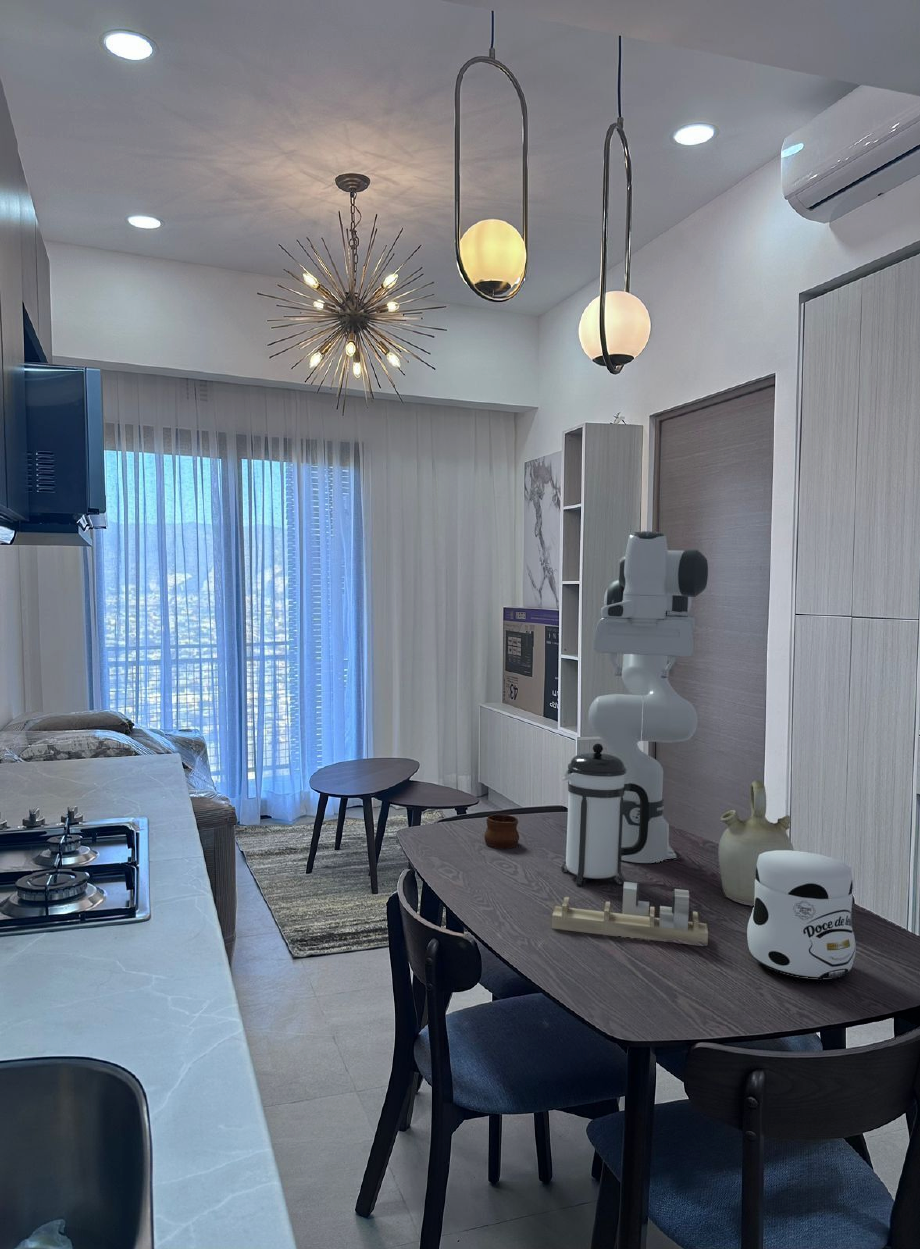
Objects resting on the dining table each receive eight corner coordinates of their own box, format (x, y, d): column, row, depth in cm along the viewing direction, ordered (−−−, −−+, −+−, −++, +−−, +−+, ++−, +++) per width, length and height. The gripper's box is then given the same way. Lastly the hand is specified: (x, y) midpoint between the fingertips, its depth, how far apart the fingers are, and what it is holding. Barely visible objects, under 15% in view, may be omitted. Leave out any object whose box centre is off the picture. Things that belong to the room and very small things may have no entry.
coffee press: (611, 895, 182) (617, 752, 181) (546, 877, 191) (551, 742, 190) (647, 875, 195) (653, 743, 194) (584, 860, 205) (589, 734, 204)
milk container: (848, 999, 137) (854, 886, 137) (736, 972, 146) (741, 866, 145) (858, 960, 152) (863, 859, 152) (756, 938, 161) (760, 842, 160)
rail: (555, 918, 167) (556, 875, 167) (705, 936, 161) (708, 891, 160) (551, 928, 162) (553, 883, 162) (707, 947, 156) (709, 900, 156)
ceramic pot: (456, 836, 222) (458, 809, 222) (521, 833, 228) (522, 807, 227) (479, 858, 205) (481, 829, 205) (548, 855, 211) (550, 827, 210)
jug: (709, 902, 180) (714, 782, 179) (723, 881, 193) (729, 770, 193) (787, 917, 173) (793, 792, 172) (796, 894, 186) (802, 779, 185)
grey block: (622, 911, 172) (624, 881, 172) (648, 914, 171) (649, 884, 171) (622, 918, 169) (623, 888, 168) (648, 921, 167) (649, 890, 167)
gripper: (694, 611, 180) (691, 678, 180) (594, 607, 183) (592, 673, 184) (697, 611, 174) (694, 680, 174) (594, 608, 177) (591, 675, 177)
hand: (641, 676), depth 179 cm, fingers open, 8 cm apart
